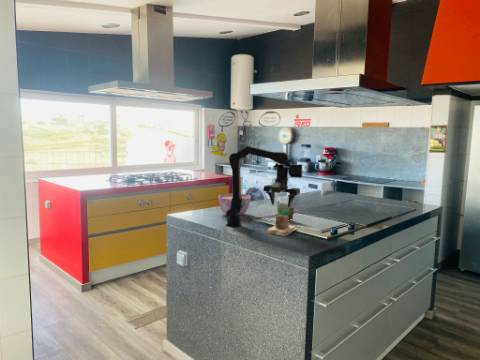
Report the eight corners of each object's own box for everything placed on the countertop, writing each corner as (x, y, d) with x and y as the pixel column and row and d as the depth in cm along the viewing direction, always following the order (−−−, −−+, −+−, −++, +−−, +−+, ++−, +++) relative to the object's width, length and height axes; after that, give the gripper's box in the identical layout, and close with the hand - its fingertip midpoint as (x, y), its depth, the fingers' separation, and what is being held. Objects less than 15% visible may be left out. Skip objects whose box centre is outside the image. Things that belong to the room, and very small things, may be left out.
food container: (271, 219, 219) (271, 202, 217) (277, 217, 223) (278, 201, 222) (287, 223, 210) (288, 205, 209) (294, 221, 215) (295, 204, 213)
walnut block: (275, 227, 192) (275, 216, 191) (279, 225, 197) (279, 214, 196) (284, 229, 190) (284, 217, 189) (288, 227, 194) (288, 216, 193)
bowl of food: (217, 218, 217) (217, 199, 215) (218, 211, 237) (218, 193, 235) (251, 219, 218) (252, 199, 216) (249, 211, 237) (249, 193, 236)
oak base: (267, 233, 190) (267, 229, 189) (278, 226, 202) (278, 223, 202) (285, 236, 185) (285, 232, 185) (295, 229, 197) (295, 226, 197)
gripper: (258, 176, 190) (257, 206, 193) (292, 180, 181) (291, 211, 183) (268, 174, 200) (267, 202, 202) (301, 177, 190) (299, 207, 193)
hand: (280, 206), depth 195 cm, fingers open, 9 cm apart
